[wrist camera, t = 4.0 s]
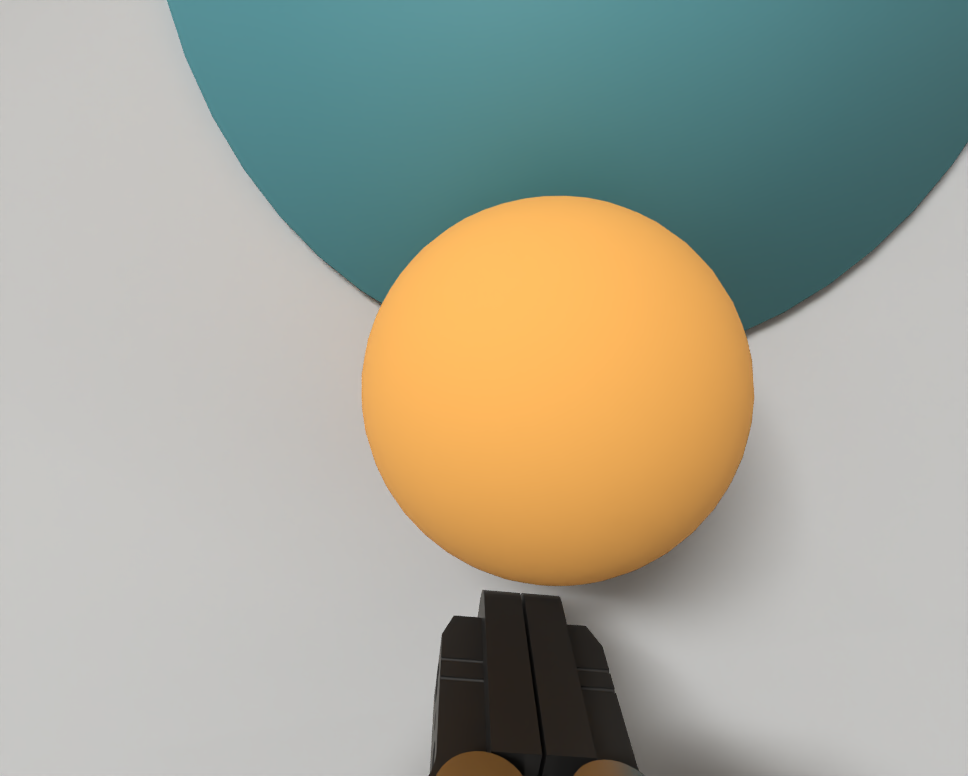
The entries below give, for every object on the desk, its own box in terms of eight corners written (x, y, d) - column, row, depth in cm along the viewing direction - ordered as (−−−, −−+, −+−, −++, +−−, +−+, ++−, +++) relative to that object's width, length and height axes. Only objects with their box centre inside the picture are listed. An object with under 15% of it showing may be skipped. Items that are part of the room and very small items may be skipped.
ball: (702, 621, 10) (645, 349, 13) (929, 491, 6) (764, 116, 9) (366, 628, 10) (383, 345, 13) (309, 493, 5) (358, 96, 8)
